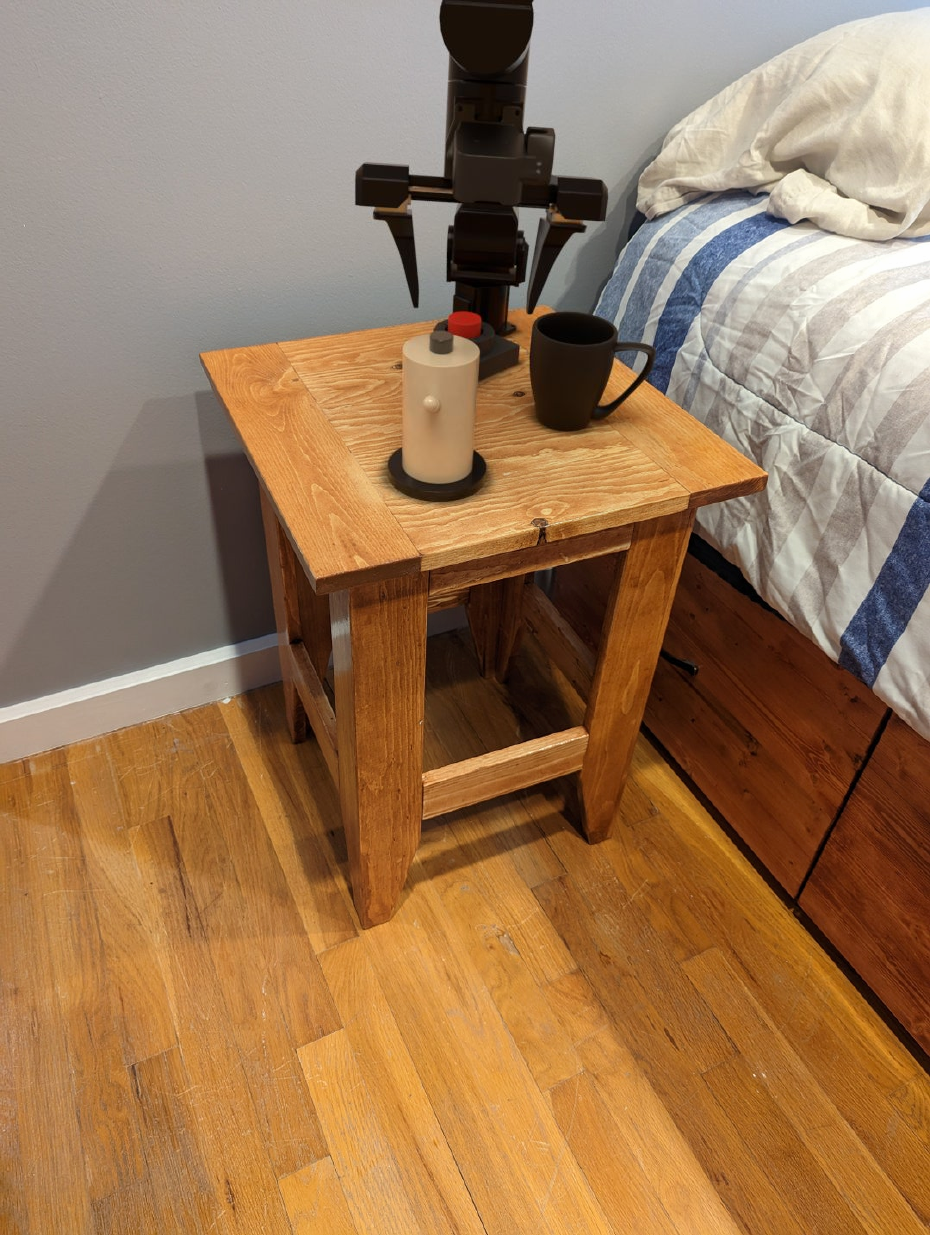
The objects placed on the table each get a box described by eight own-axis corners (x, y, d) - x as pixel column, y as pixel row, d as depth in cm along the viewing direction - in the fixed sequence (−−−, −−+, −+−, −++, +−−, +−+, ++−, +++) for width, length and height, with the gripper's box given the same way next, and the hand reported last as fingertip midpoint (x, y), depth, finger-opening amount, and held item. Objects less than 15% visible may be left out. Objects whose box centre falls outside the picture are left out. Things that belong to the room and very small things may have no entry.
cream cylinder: (409, 443, 81) (410, 316, 73) (476, 451, 81) (485, 324, 73) (389, 495, 74) (388, 361, 66) (463, 504, 74) (471, 370, 66)
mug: (632, 452, 84) (651, 360, 78) (513, 428, 86) (522, 336, 80) (645, 414, 90) (664, 325, 84) (534, 393, 92) (544, 305, 86)
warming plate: (436, 439, 84) (436, 429, 83) (505, 475, 80) (506, 466, 79) (367, 472, 79) (367, 463, 78) (438, 513, 74) (438, 504, 74)
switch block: (466, 340, 101) (468, 307, 99) (518, 363, 98) (521, 329, 95) (405, 365, 96) (405, 330, 93) (458, 390, 92) (459, 354, 89)
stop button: (463, 324, 96) (464, 308, 95) (487, 334, 94) (488, 318, 93) (440, 332, 94) (441, 317, 93) (464, 343, 92) (465, 327, 91)
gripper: (350, 67, 55) (350, 323, 62) (640, 89, 56) (606, 337, 64) (359, 77, 64) (358, 298, 72) (605, 96, 66) (579, 310, 73)
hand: (472, 310), depth 70 cm, fingers open, 9 cm apart
